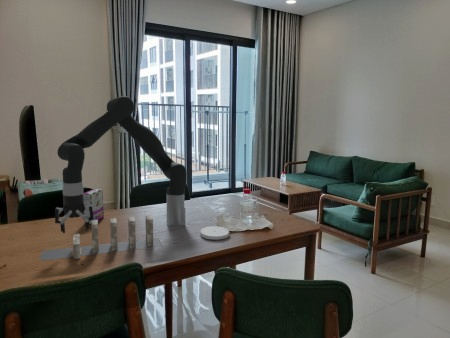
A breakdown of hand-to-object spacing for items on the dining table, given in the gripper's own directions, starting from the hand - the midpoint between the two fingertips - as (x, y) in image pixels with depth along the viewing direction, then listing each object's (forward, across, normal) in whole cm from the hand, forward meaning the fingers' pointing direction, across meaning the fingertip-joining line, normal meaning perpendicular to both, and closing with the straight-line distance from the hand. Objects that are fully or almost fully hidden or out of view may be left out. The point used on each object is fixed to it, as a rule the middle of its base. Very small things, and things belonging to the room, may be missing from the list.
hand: (75, 231), depth 138 cm
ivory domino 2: (+9, -15, 0) cm, 17 cm away
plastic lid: (+11, -62, -3) cm, 63 cm away
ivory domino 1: (+9, -7, 0) cm, 12 cm away
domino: (+6, 0, -4) cm, 7 cm away
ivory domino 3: (+9, -22, 0) cm, 24 cm away
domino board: (+10, -11, 0) cm, 15 cm away
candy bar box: (+10, -7, -43) cm, 45 cm away
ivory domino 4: (+9, -30, 0) cm, 31 cm away
